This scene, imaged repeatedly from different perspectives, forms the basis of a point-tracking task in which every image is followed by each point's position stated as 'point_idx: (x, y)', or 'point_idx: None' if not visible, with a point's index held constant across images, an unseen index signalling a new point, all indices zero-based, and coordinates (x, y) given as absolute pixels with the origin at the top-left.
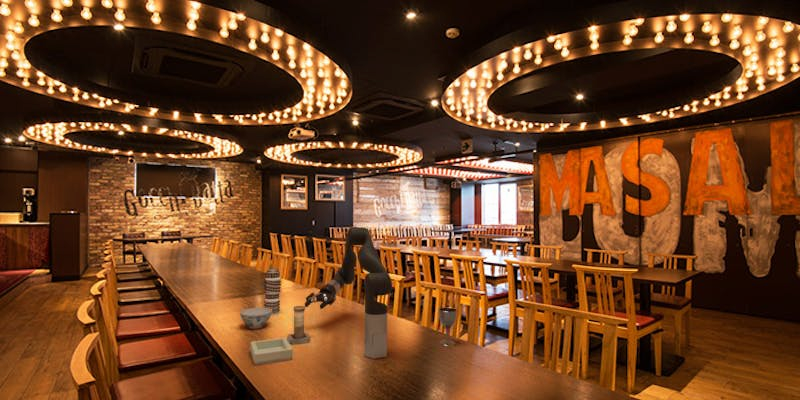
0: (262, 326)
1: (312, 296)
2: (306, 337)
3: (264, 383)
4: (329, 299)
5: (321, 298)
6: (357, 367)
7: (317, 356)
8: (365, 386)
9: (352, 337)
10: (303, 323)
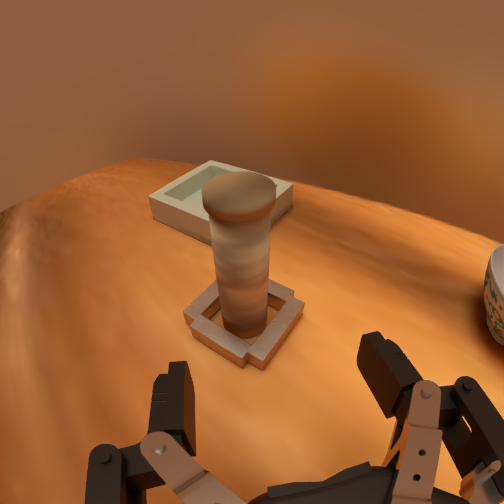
0: (495, 338)
1: (437, 427)
2: (199, 311)
3: (147, 165)
4: (116, 471)
5: (283, 485)
6: (13, 251)
7: (101, 253)
8: (9, 216)
9: (51, 447)
10: (215, 270)
